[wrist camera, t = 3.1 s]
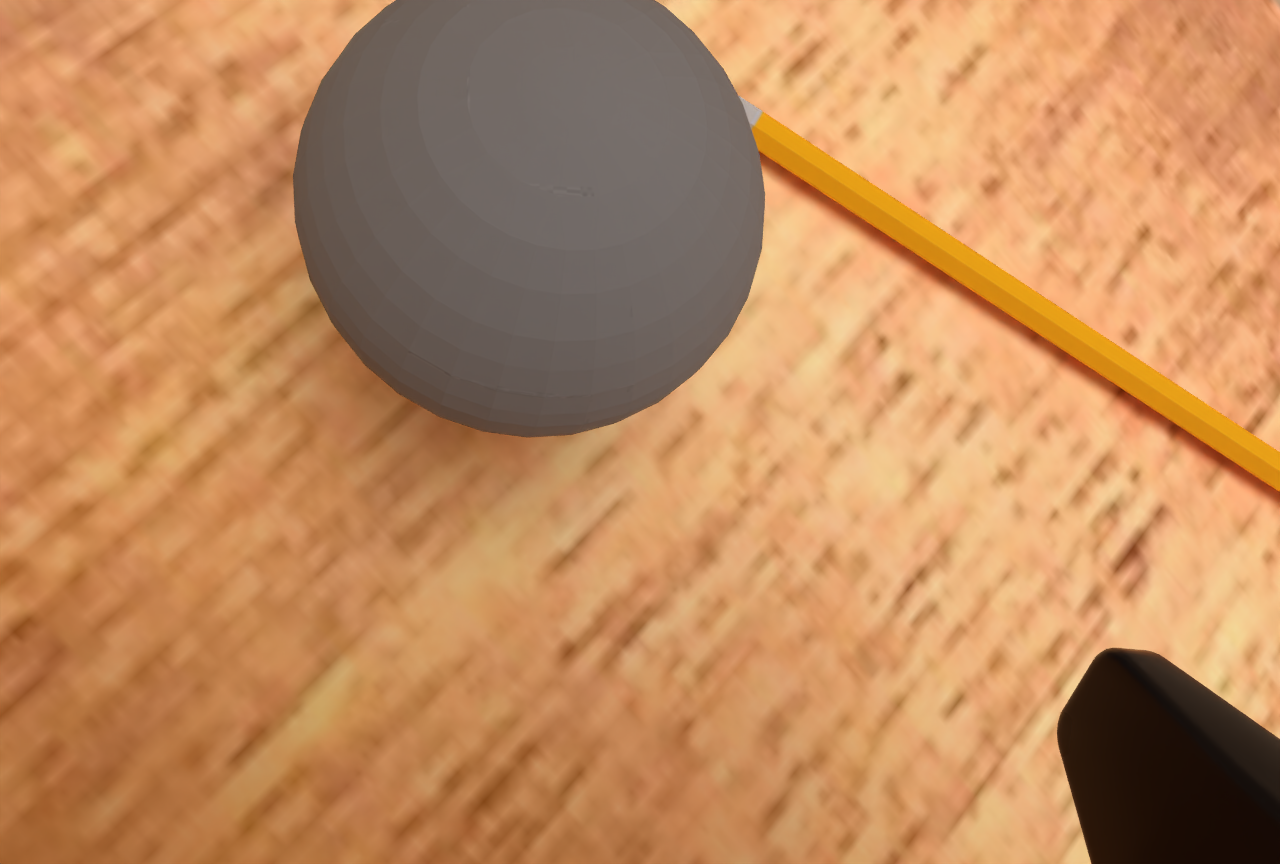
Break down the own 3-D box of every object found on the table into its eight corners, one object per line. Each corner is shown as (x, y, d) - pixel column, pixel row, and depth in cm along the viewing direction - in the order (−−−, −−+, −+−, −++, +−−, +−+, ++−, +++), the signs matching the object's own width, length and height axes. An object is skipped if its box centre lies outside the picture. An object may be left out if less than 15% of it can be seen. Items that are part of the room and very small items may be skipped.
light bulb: (693, 406, 21) (944, 201, 12) (437, 569, 19) (484, 485, 10) (532, 162, 21) (647, -233, 12) (265, 300, 20) (147, -36, 10)
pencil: (698, 82, 22) (707, 65, 22) (1394, 540, 24) (1421, 536, 24) (681, 110, 22) (690, 93, 22) (1384, 569, 24) (1412, 567, 23)
